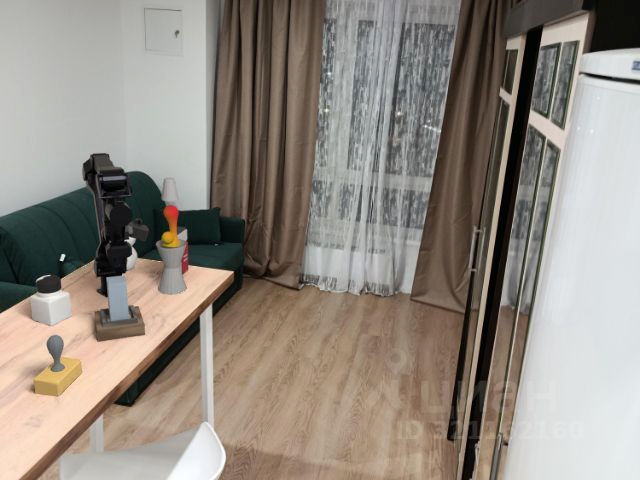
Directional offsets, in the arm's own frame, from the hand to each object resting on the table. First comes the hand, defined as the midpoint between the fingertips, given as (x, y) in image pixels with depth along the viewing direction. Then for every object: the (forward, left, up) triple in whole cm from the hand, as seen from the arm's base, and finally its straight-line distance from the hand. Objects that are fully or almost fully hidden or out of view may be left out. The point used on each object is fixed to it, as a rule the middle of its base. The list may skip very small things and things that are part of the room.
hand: (118, 269), depth 164 cm
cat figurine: (-28, +17, -13) cm, 35 cm away
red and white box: (-12, +27, -13) cm, 32 cm away
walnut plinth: (+8, -5, -13) cm, 16 cm away
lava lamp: (-4, +20, -13) cm, 24 cm away
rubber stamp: (+22, -28, -13) cm, 38 cm away
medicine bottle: (-9, -15, -13) cm, 22 cm away
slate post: (+8, -5, -10) cm, 14 cm away
